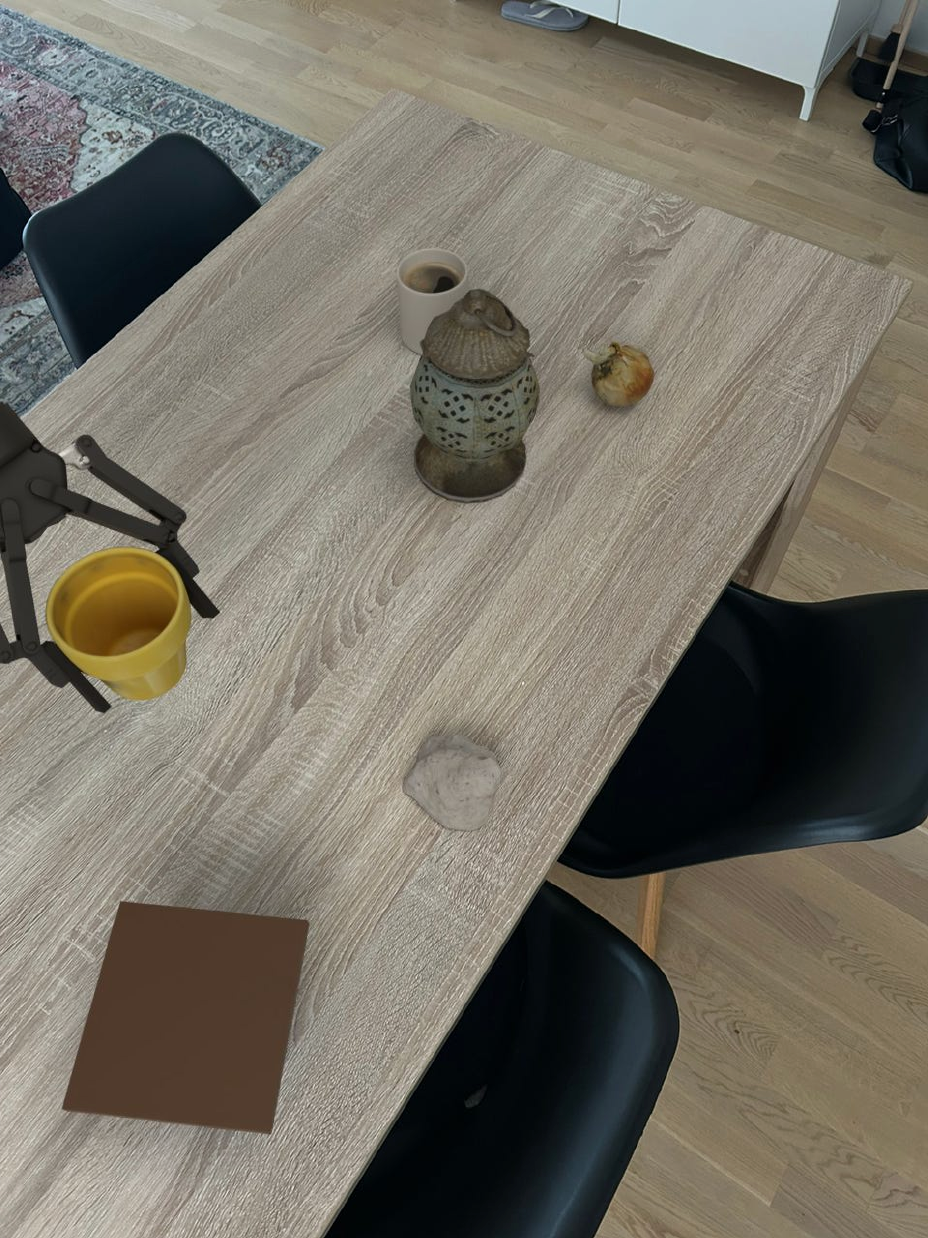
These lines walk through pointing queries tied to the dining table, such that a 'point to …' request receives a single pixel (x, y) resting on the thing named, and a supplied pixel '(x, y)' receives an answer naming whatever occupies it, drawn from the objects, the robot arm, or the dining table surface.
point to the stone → (454, 781)
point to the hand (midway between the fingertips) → (159, 660)
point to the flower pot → (122, 620)
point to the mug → (427, 290)
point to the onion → (620, 374)
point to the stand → (190, 1018)
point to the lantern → (473, 400)
